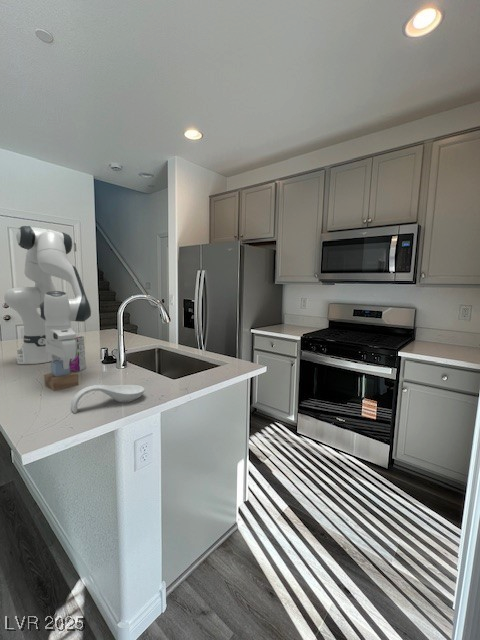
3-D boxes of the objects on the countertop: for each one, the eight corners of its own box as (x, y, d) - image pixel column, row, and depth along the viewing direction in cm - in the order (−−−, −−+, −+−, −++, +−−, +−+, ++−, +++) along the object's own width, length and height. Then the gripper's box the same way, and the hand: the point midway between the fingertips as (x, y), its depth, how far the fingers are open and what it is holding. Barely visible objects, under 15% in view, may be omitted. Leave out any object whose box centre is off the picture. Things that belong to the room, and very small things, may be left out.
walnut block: (45, 386, 119) (44, 374, 118) (69, 381, 126) (68, 369, 125) (54, 391, 113) (53, 379, 113) (78, 385, 120) (77, 373, 120)
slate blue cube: (51, 374, 118) (50, 362, 118) (64, 371, 122) (64, 359, 122) (56, 376, 115) (55, 364, 115) (69, 373, 119) (69, 361, 119)
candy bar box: (57, 370, 139) (55, 336, 137) (64, 367, 144) (62, 334, 142) (79, 371, 138) (77, 337, 136) (86, 368, 143) (84, 335, 141)
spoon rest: (137, 391, 115) (137, 373, 114) (150, 400, 106) (149, 381, 105) (68, 406, 99) (67, 386, 99) (76, 419, 91) (75, 396, 90)
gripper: (39, 330, 121) (42, 363, 122) (60, 336, 108) (62, 373, 110) (56, 328, 126) (58, 360, 127) (78, 334, 113) (80, 369, 115)
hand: (60, 366), depth 119 cm, fingers open, 8 cm apart
